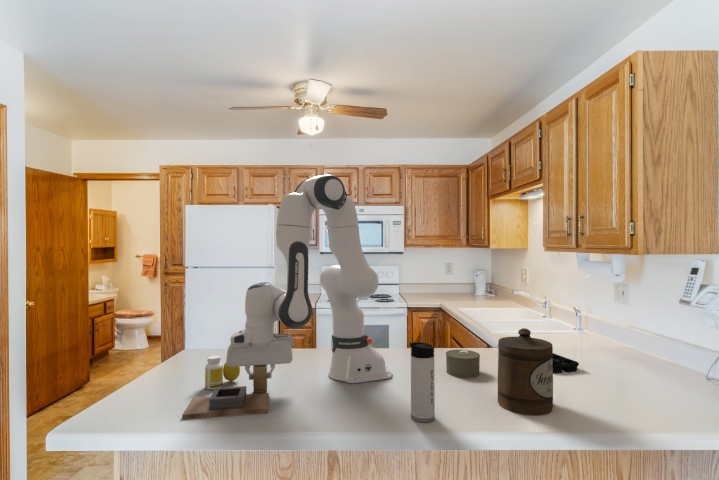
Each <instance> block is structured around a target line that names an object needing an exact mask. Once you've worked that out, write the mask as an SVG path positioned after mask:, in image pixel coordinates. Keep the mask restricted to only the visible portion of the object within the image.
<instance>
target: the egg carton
mask: <svg viewBox="0 0 719 480" xmlns="http://www.w3.org/2000/svg"><path fill="white" fill-rule="evenodd" d="M552 360H553V375H554V374H558V375H559V374H562V373H563V372H565V373H573V372H574V373H575V372H577V371H578V367H579V366H580V363H579V362H578V361H576V360H573V359H571V358H567V357H564V356H562V355H559V354H556V353H554V352H553V355H552Z"/></svg>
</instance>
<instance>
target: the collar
mask: <svg viewBox="0 0 719 480" xmlns="http://www.w3.org/2000/svg"><path fill="white" fill-rule="evenodd" d="M246 394H247V385H246V386H245V385H243V386H229V387H228V386H227V387H221V388H215V389H214V390H212V392H211V396H209V397H210V399H209V410H223V409H237V408H243V407H244V403H245V400H246Z"/></svg>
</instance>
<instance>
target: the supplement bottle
mask: <svg viewBox="0 0 719 480" xmlns="http://www.w3.org/2000/svg"><path fill="white" fill-rule="evenodd" d="M223 367H224V364H223V363H221V356H220V355H211V356H208V357H207V364H206V365H205V368H204V372H205V373H204V386H205V387H204V388H205V389H206V390H212V391H214V389H215V388H223V382H224V381H223V380H224V375H223Z"/></svg>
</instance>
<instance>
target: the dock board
mask: <svg viewBox="0 0 719 480" xmlns="http://www.w3.org/2000/svg"><path fill="white" fill-rule="evenodd" d="M210 397H211V396H203V397H192V399H191V400H190V402H189V403H188V405H187V407H186V408H185V410H184V412H183V413H182V420H187V419H202V418H214V417H230V416H241V415H242V416H243V415H257V414H268V407H269V400H270V398H269V397H270V394H269V392H260V393H246V400H245V403H244V407H243V408H237V409H223V410H209V399H210Z"/></svg>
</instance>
